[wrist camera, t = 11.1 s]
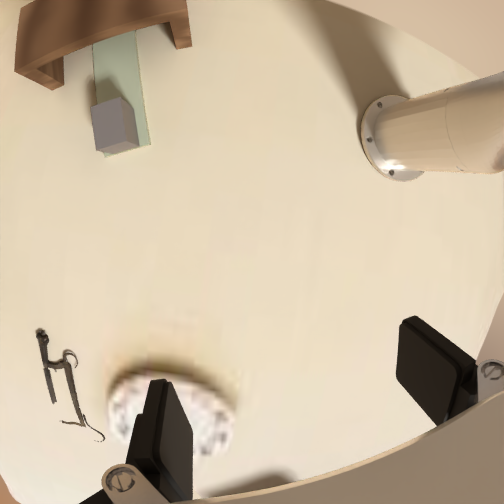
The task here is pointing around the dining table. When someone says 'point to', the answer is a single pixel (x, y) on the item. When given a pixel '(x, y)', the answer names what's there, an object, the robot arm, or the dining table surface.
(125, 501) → the robot arm
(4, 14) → the dining table surface
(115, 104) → the sage green plank
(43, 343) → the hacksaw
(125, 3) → the bench
